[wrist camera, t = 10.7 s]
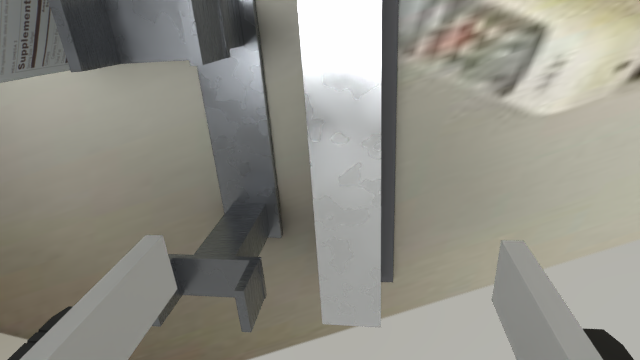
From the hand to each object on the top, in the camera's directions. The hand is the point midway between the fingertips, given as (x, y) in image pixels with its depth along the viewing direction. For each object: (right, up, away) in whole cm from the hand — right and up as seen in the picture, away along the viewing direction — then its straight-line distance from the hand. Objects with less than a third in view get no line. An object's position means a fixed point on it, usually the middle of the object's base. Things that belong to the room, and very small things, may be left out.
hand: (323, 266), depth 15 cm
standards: (-7, +8, +16) cm, 19 cm away
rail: (+2, +6, +15) cm, 16 cm away
